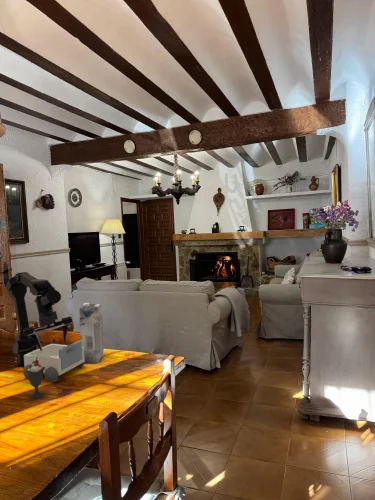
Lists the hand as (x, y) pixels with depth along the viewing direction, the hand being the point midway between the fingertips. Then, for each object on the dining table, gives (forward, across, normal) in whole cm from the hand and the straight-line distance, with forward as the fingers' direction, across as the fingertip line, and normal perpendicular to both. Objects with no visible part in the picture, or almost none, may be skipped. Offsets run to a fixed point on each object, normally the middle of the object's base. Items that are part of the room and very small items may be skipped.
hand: (53, 347), depth 144 cm
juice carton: (+10, +14, +24) cm, 29 cm away
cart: (+10, -2, +13) cm, 17 cm away
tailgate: (+9, +5, +7) cm, 12 cm away
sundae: (+16, -8, -7) cm, 19 cm away
